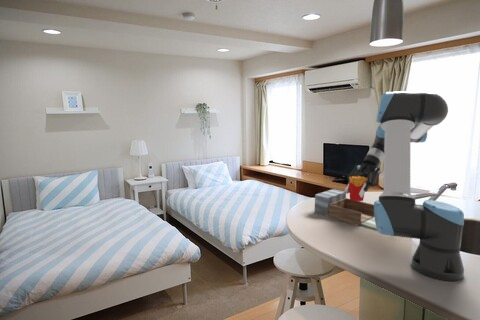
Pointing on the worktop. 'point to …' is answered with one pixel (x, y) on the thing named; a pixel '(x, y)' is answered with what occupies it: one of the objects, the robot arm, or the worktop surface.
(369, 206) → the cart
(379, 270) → the worktop surface
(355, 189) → the french fries
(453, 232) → the robot arm
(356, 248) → the worktop surface
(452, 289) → the worktop surface
